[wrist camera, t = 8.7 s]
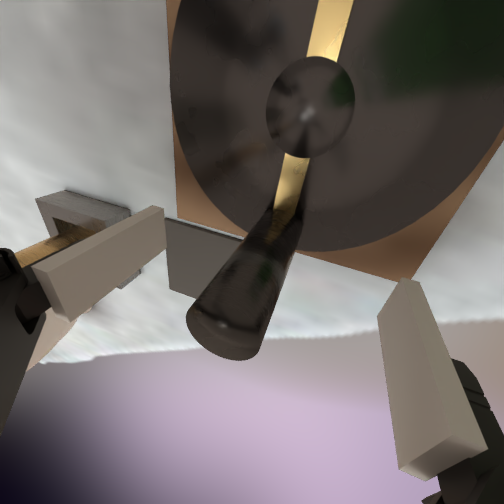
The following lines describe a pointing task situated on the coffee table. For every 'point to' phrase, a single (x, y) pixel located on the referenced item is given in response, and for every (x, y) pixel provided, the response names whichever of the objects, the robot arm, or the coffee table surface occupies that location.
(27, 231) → the coffee table surface
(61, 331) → the jar
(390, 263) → the wheel base
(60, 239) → the hook peg
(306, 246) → the handwheel
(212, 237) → the pad
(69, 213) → the eye block
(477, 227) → the coffee table surface
